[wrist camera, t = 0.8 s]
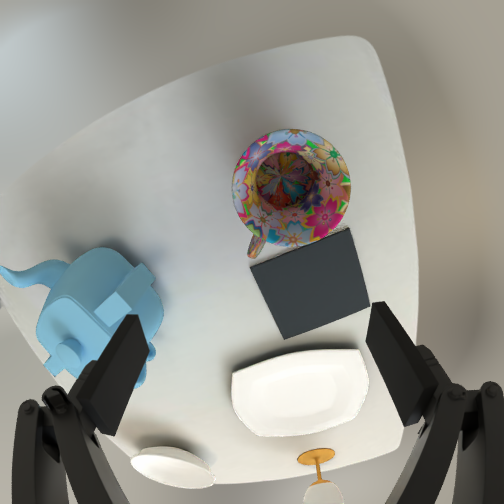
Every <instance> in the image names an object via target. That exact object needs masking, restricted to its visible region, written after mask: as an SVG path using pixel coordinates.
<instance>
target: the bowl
mask: <svg viewBox="0 0 504 504" xmlns="http://www.w3.org/2000/svg"><path fill="white" fill-rule="evenodd" d="M131 464H132V466H133V467H134V468H135V469H136V470H137V471H138V472H140V473H141V474H143V475H144V476H146V477H148V478H150V479H152V480H155V481H157V482H160V483H163V484H166V485H170V486H174V487H180V488H192V489H193V488H194V489H197V488H205V487H209V486H211V485H213V484H214V483H215V481H216V478H215V476H214V475H213V474H212V473H211V470H210V467H209V465H208V464H207V463H206V462H204V461H203V460H201V459H199V458H198V457H197V456H195V455H194V454H192V453H190V452H188V451H185V450H183V449H179V448H175V447H168V446H158V447H150V448H145V449H142V450H141V451H140V452H139V453H138V454H137V455H134V456H133V457H131Z"/></svg>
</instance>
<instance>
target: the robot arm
mask: <svg viewBox="0 0 504 504" xmlns="http://www.w3.org/2000/svg"><path fill="white" fill-rule="evenodd" d="M366 343H367V345H368V348H369V350H370V352H371V354H372V356H373V358H374V360H375V362H376V364H377V367H378V369H379V371H380V373H381V375H382V377H383V380H384V382H385V384H386V386H387V388H388V391H389V393H390V395H391V397H392V400H393V402H394V404H395V407H396V409H397V411H398V414H399V416H400V418H401V421H402V423H403V426H404V427H406V426H409V425H412V424H415V423H418V422H419V420H420V419H421V417H422V415H423V417H424V419H425V422H424V424H423V426H422V427H421V429H420V430H419V432H418V434H419V436H418V439H417V441H416V444H415V446H414V448H413V450H412V453H411V455H410V457H409V459H408V461H407V463H406V465H405V467H404V470H403V472H402V473H401V475H400V478H399V479H398V482H397V483H396V485H395V487H394V489H393V490H392V492H391V494H390V496H389V497H388V499H387V501H386V503H385V504H435V501H436V499H437V497H438V495H439V492H440V490H441V487H442V485H443V482H444V480H445V477H446V474H447V472H448V468H449V466H450V463H451V460H452V457H453V454H454V450H455V447H456V444H457V440H458V455H457V470H456V479H455V480H456V481H455V488H454V495H453V502H452V504H504V397H503V391H502V389H501V387H500V386H499V385H498V384H497V383H495V382H491V381H489V382H485V383H484V384H483V385H482V387H481V389H480V390H469V391H468V390H466V389H465V388H464V387H462V386H461V385H459V384H455V383H452V382H451V380H450V379H449V377H448V376H447V374H446V373H445V371H444V370H443V368H442V367H441V365H440V364H439V362H438V361H437V359H436V358H435V356H434V355H433V353H432V352H431V350H429V349H428V348H427V347H425V346H424V345H420V346H415V345H414V343H413V342H412V340H411V339H410V337H409V336H408V334H407V333H406V331H405V330H404V328H403V327H402V325H401V324H400V323H399V321H398V320H397V318H396V317H395V315H394V314H393V313H392V311H391V310H390V308H389V307H388V306H387V304H386V303H385V301H383V302H374V303H372V308H371V314H370V320H369V325H368V331H367V336H366ZM149 352H150V350H149V347H148V344H147V341H146V338H145V335H144V331H143V328H142V325H141V322H140V319H139V315H138V314H127V315H126V316H125V318H124V319H123V321H122V322H121V324H120V325H119V327H118V328H117V330H116V331H115V333H114V334H113V336H112V338H111V339H110V341H109V342H108V344H107V345H106V347H105V349H104V350H103V352H102V353H101V355H100V357H99V358H98V360H91V361H90V362H89V363H88V364H87V365H85V367H84V369H83V370H82V372H81V374H80V375H79V377H78V379H77V380H76V382H75V383H74V385H73V386H72V388H71V390H70V391H69V393H68V395H67V393H66V392H65V390H64V389H63V388H62V387H61V386H52V387H50V388H48V389H47V390H45V392H44V393H43V395H42V401H43V402H44V404H45V405H46V406H44V407H40V406H39V404H38V403H37V402H36V401H35V400H31V399H30V400H26V401H25V402H23V403H22V404H21V405H20V408H19V411H18V418H17V423H16V431H15V439H14V449H13V462H12V504H69V500H68V492H67V484H66V473H67V475H68V479H69V482H70V484H71V487H72V490H73V492H74V495H75V497H76V500H77V502H78V504H130V503H129V501H128V500H127V498H126V496H125V494H124V493H123V491H122V489H121V487H120V485H119V483H118V481H117V479H116V477H115V476H114V473H113V471H112V469H111V467H110V465H109V463H108V461H107V459H106V457H105V455H104V452H103V450H102V448H101V445H100V443H99V441H98V438H97V436H96V434H95V433H94V431H95V428H96V427H97V428H98V430H99V431H100V432H101V433H102V434H106V435H111V436H115V434H116V431H117V429H118V426H119V424H120V421H121V419H122V416H123V414H124V411H125V409H126V406H127V404H128V401H129V399H130V397H131V394H132V392H133V389H134V387H135V385H136V382H137V380H138V378H139V375H140V373H141V371H142V368H143V366H144V364H145V361H146V359H147V357H148V355H149ZM65 470H66V472H65Z"/></svg>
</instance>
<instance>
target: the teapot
mask: <svg viewBox="0 0 504 504" xmlns="http://www.w3.org/2000/svg"><path fill="white" fill-rule="evenodd" d="M0 274H1V275H2V276H3V278H4V279H5V280H6V281H7V282H9V283H10V284H11V285H13V286H15V287H19V288H25V287H29V286H31V285H34V284H43V285H45V286H47V287H49V288H51V290H50V292H49V294H48V297H47V299H46V301H45V304H44V306H43V309H42V311H41V314H40V317H39V320H38V323H37V326H36V335H37V339H38V341H39V342H40V343H41V345H42V346H43V347H44V348H45V349H46V350H47V352H48V353H49V354H50V357H49V358H48V360H47V361H46V362H45V364H44V366H45V367H46V368H47V369H48V370H49V371H50V372H51V373H52V374H53V375H54V376H56V375H57V374H59V373H60V372H61V371H62V370H63V369H64V368H65V369H66V370H67V371H68V372H69V373H70V374H72V375H73V376H74V377H75V378H77V379H78V377H79V375H80V374H81V372H82V370H83V369H84V367H85V365H87V364H88V363H89V362H90V361H91V360H98V358H99V357H100V355H101V353H102V352H103V350H104V349H105V347H106V345H107V344H108V342H109V341H110V339H111V338H112V336H113V334H114V333H115V331H116V330H117V328H118V327H119V325H120V324H121V322H122V321H123V319H124V318H125V316H126V315H127V314H138V315H139V319H140V322H141V325H142V328H143V331H144V335H145V338H146V341H147V344H148V347H149V350H150V352H149V355H148V357H147V359H146V361H151V360H152V359H154V357H155V355H156V350H155V348H154V346H153V345H152V343H151V342H150V340H151V339H152V338H153V336H154V335H155V333H156V332H157V330H158V328H159V327H160V325H161V323H162V320H163V316H164V309H163V305H162V302H161V299H160V297H159V296H158V294H157V293H156V292H155V290H154V289H153V288H152V287H151V284H152V283H153V281H154V280H155V279H156V278H155V276H154V275H153V274H152V273H151V272H150V271H149V270H148V269H147V267H146V266H145V265H144V264H143V263H140V264H139V265H138V266H136V267H135V268H134V267H133V266H132V265H131V264H130V263H129V262H128V261H127V260H126V259H125V258H124V257H123V256H122V255H120V254H119V253H118V252H117V251H115V250H113V249H110V248H105V247H99V248H95V249H92V250H90V251H88V252H86V253H84V254H83V255H81V256H80V257H79V258H77V259H76V260H75V261H74V262H73V263H71V264H68V263H66V262H64V261H60V260H48V261H44V262H42V263H40V264H38V265H36V266H34V267H32V268H30V269H27V270H25V271H19V272H18V271H12V270H10V269H7V268H5V267H3V266H0ZM146 361H145V364H144V366H143V368H142V371H141V373H140V375H139V378H138V380H137V382H136V385H135V387H134V389H135V388H138V387H140V386H141V385H142V384H143V383H144V381H145V378H146Z"/></svg>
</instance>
